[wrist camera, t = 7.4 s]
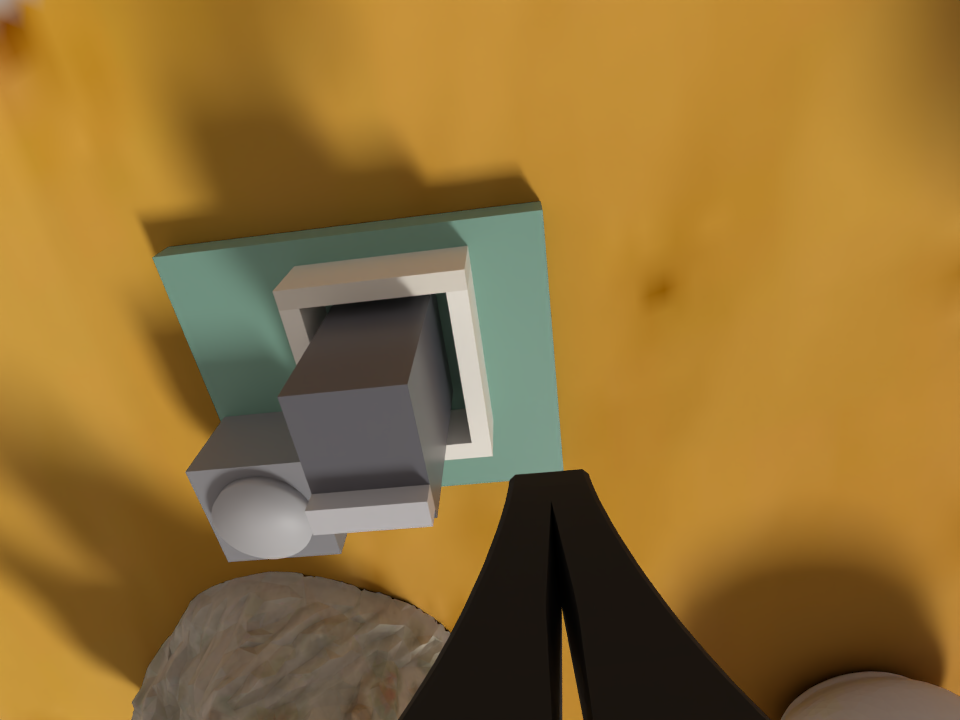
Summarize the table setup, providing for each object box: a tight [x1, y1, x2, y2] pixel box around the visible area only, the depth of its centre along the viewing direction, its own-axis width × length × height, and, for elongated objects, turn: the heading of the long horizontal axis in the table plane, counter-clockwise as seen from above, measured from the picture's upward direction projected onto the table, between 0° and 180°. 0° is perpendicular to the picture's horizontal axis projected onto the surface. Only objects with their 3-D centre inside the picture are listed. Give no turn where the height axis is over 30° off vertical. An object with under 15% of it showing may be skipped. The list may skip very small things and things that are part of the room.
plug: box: [277, 294, 453, 535], centre depth 17 cm, size 3×4×7 cm
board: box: [152, 201, 563, 562], centre depth 19 cm, size 12×10×4 cm
